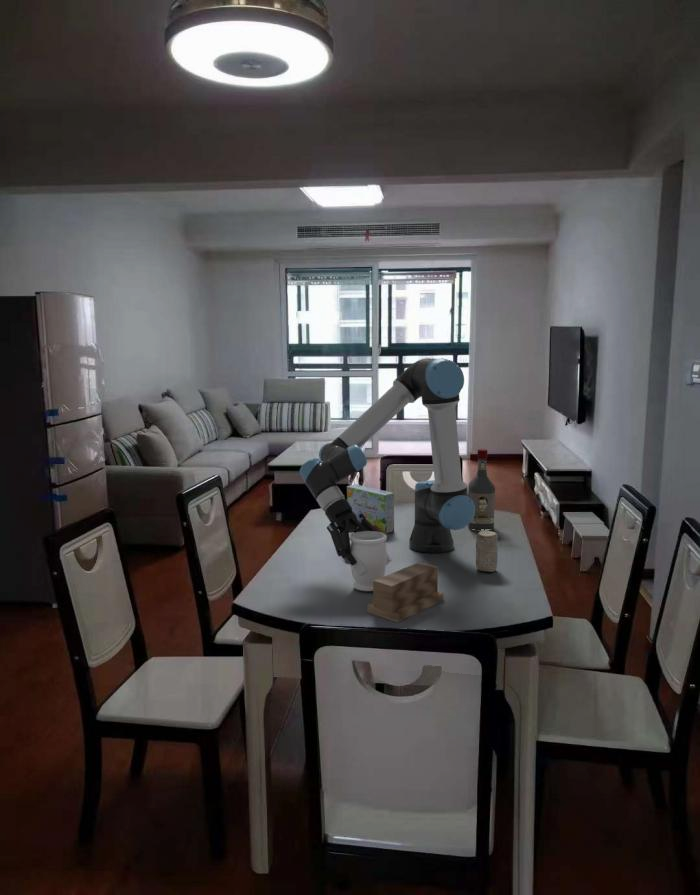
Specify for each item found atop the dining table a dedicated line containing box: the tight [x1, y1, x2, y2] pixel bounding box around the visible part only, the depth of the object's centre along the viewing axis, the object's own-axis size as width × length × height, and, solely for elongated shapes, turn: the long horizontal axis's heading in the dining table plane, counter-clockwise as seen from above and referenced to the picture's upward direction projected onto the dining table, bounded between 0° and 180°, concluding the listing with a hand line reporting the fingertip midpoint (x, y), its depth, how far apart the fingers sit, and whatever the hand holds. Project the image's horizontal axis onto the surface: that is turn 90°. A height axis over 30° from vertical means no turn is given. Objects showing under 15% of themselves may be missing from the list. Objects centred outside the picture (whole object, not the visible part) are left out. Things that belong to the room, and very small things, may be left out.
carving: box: [475, 530, 499, 573], centre depth 204 cm, size 6×8×12 cm
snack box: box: [346, 484, 395, 535], centre depth 253 cm, size 21×6×15 cm, turn 42°
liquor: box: [467, 448, 496, 530], centre depth 251 cm, size 9×9×30 cm
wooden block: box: [367, 561, 445, 623], centre depth 176 cm, size 20×10×9 cm, turn 138°
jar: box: [349, 531, 388, 592], centre depth 189 cm, size 11×10×15 cm
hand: (376, 568), depth 187 cm, fingers closed on jar, 10 cm apart
